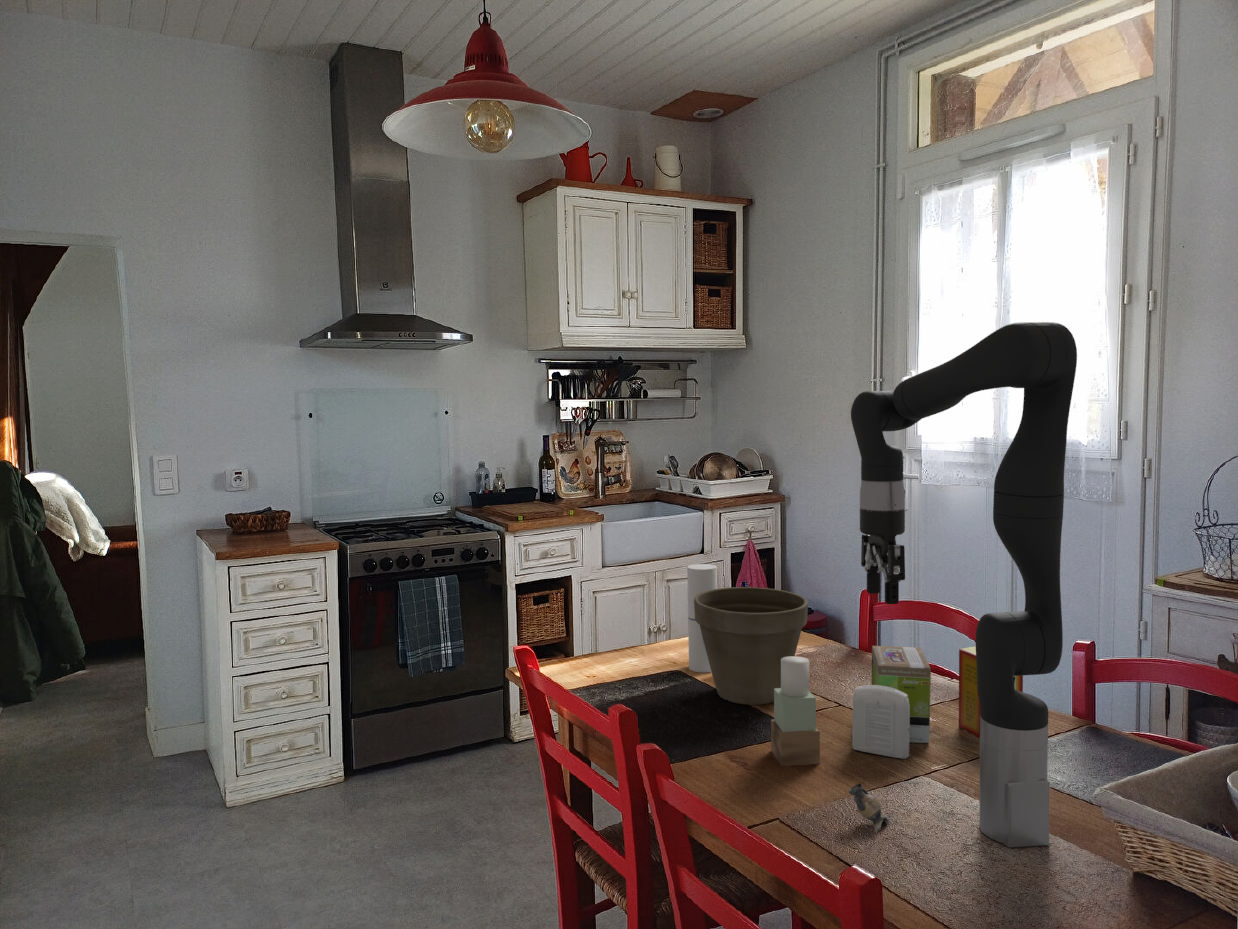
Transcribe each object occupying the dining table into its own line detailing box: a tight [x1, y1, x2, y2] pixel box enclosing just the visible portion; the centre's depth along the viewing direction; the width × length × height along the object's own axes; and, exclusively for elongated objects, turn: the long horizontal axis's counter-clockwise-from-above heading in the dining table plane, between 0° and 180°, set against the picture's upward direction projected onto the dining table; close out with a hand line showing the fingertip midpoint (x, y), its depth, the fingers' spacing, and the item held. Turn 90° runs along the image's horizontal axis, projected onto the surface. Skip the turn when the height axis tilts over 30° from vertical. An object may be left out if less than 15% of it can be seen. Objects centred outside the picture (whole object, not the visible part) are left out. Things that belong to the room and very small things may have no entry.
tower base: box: [770, 718, 821, 767], centre depth 164 cm, size 7×7×6 cm
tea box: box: [870, 645, 932, 744], centre depth 176 cm, size 15×10×15 cm
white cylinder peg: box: [781, 655, 810, 697], centre depth 163 cm, size 5×5×6 cm
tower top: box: [773, 688, 817, 732], centre depth 163 cm, size 6×6×6 cm
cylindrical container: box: [686, 563, 718, 673], centre depth 218 cm, size 7×7×25 cm
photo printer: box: [851, 684, 910, 760], centre depth 165 cm, size 10×4×12 cm, turn 60°
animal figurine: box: [847, 782, 890, 835], centre depth 138 cm, size 5×5×6 cm
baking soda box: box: [958, 645, 1024, 739], centre depth 175 cm, size 10×6×16 cm
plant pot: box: [694, 586, 809, 706], centre depth 198 cm, size 25×25×22 cm
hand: (882, 598), depth 157 cm, fingers open, 8 cm apart
